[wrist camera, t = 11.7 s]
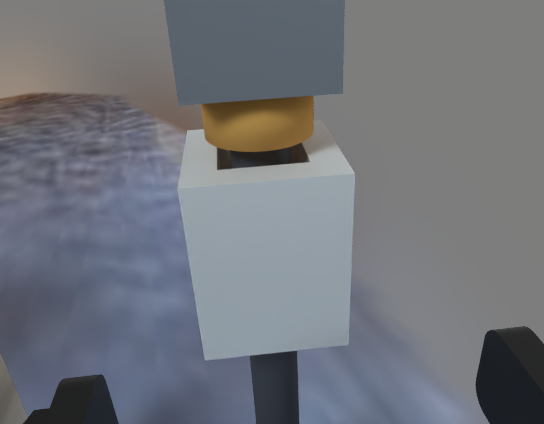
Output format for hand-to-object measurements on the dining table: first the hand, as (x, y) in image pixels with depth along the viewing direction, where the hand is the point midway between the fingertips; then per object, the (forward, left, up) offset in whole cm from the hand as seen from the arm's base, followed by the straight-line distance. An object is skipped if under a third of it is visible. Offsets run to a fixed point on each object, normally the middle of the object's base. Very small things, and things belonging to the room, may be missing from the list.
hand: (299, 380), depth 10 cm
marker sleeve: (-5, +4, -3) cm, 7 cm away
